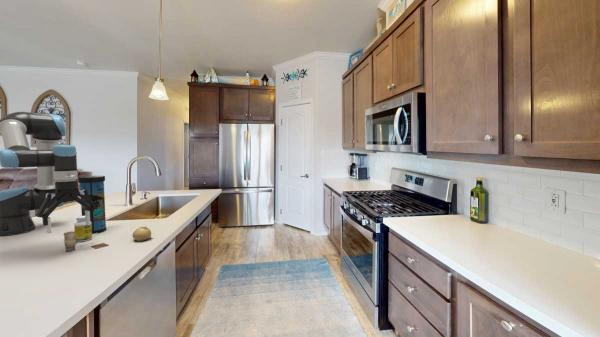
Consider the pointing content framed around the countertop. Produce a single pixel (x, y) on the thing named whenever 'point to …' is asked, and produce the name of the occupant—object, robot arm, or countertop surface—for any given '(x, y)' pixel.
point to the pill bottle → (82, 230)
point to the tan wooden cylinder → (69, 241)
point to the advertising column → (96, 193)
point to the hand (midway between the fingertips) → (69, 228)
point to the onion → (141, 234)
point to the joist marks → (99, 245)
